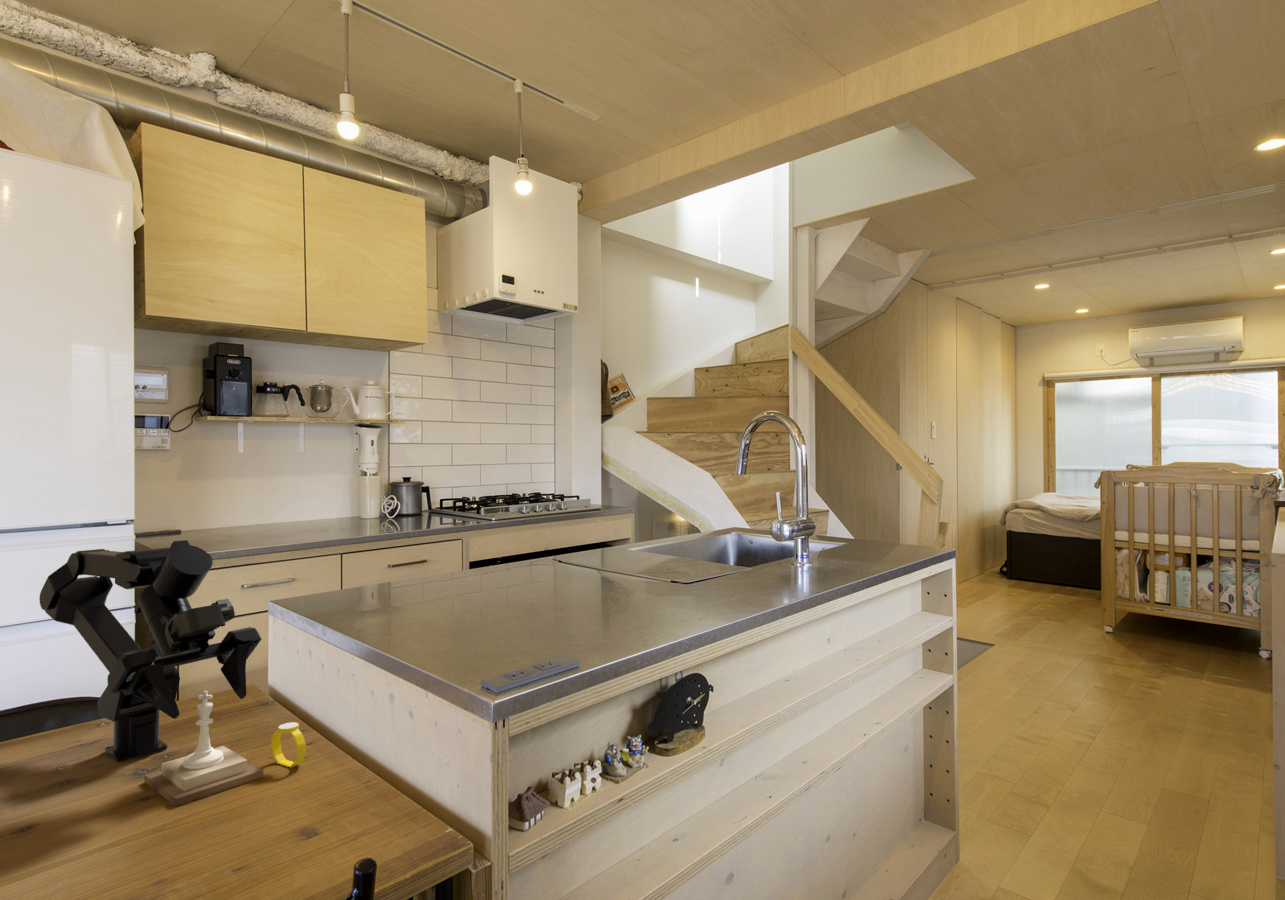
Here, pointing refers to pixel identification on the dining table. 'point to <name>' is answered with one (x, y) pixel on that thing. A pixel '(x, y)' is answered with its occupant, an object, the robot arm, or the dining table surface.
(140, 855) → the dining table surface
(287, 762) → the watch
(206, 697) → the chess piece
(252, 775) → the build base
